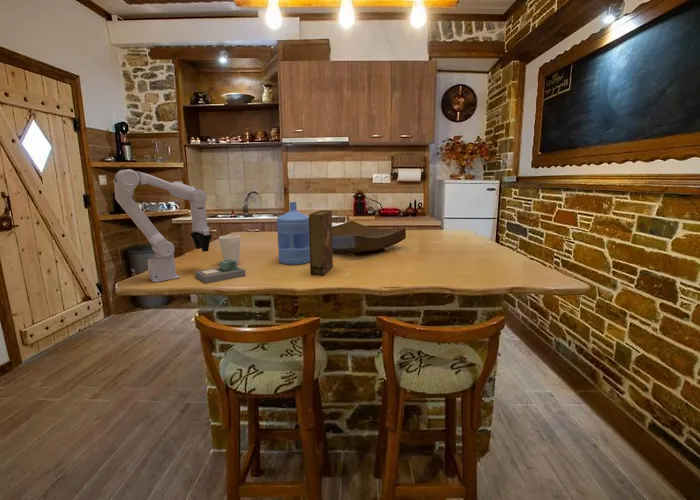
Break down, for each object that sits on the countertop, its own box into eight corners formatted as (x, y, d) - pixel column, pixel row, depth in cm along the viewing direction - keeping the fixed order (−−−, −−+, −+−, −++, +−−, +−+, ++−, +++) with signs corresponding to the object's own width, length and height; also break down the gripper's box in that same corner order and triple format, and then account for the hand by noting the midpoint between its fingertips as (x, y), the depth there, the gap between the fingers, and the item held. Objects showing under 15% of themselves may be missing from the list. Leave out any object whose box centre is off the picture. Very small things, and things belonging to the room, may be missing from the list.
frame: (205, 283, 136) (205, 276, 136) (195, 277, 145) (194, 270, 145) (245, 275, 147) (245, 269, 146) (233, 270, 155) (232, 263, 155)
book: (321, 265, 162) (320, 210, 157) (333, 266, 161) (332, 210, 156) (310, 275, 146) (308, 214, 141) (323, 276, 145) (321, 214, 140)
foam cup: (228, 267, 160) (226, 239, 157) (217, 265, 165) (214, 237, 163) (246, 263, 167) (244, 236, 164) (234, 261, 173) (232, 234, 170)
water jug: (282, 257, 179) (279, 201, 173) (314, 257, 178) (312, 200, 173) (275, 265, 164) (271, 203, 158) (309, 265, 163) (307, 203, 157)
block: (225, 277, 145) (224, 263, 143) (220, 275, 148) (219, 261, 147) (237, 275, 148) (236, 261, 147) (232, 272, 152) (231, 259, 150)
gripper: (215, 218, 147) (218, 251, 149) (202, 216, 157) (205, 246, 160) (197, 220, 142) (200, 253, 145) (186, 217, 153) (189, 248, 156)
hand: (202, 250), depth 152 cm, fingers open, 7 cm apart
